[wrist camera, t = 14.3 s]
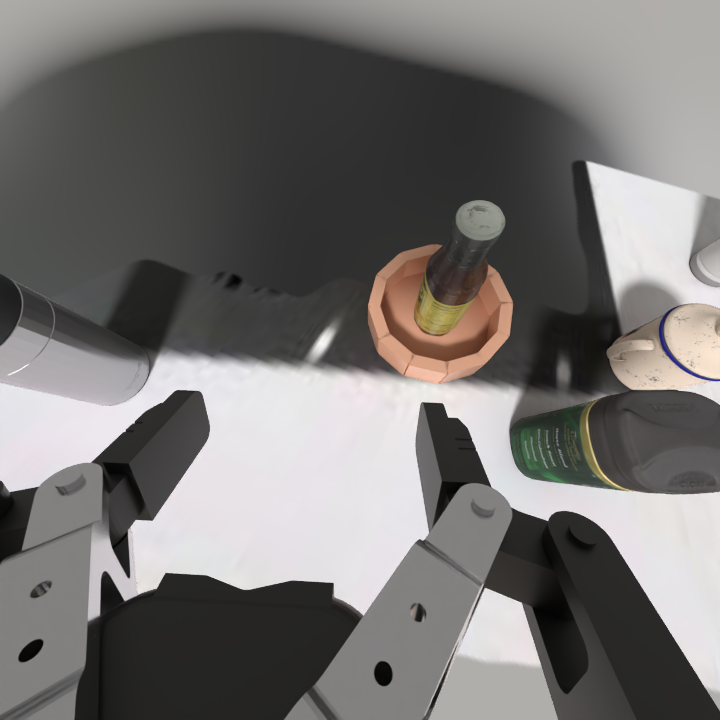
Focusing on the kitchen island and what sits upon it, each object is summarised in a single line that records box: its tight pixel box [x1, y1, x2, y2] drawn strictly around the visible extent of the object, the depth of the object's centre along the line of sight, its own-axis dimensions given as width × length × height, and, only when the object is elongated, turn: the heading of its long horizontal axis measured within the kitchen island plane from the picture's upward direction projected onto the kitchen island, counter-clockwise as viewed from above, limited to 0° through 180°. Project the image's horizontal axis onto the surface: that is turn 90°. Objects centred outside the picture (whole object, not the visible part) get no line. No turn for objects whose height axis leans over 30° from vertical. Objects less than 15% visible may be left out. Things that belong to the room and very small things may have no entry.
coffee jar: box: [511, 389, 720, 494], centre depth 31 cm, size 10×8×19 cm
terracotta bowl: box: [368, 244, 513, 384], centre depth 43 cm, size 18×18×5 cm
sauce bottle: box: [414, 200, 505, 336], centre depth 35 cm, size 7×6×20 cm
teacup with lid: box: [607, 304, 720, 390], centre depth 38 cm, size 12×9×12 cm
